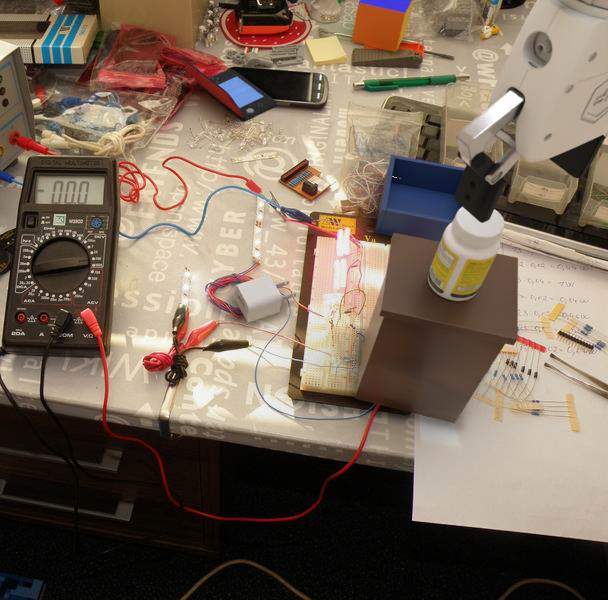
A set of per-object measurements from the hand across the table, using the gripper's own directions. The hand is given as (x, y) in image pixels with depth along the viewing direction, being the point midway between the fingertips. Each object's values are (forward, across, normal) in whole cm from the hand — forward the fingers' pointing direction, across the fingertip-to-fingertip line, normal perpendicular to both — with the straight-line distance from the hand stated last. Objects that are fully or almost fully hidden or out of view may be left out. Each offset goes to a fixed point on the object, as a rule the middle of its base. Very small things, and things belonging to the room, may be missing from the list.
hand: (519, 188), depth 52 cm
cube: (+31, +40, +60) cm, 78 cm away
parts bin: (+31, +18, +22) cm, 42 cm away
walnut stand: (+31, -1, +2) cm, 31 cm away
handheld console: (+30, +7, +57) cm, 65 cm away
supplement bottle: (+13, -1, +2) cm, 13 cm away
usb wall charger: (+31, -9, +19) cm, 37 cm away
